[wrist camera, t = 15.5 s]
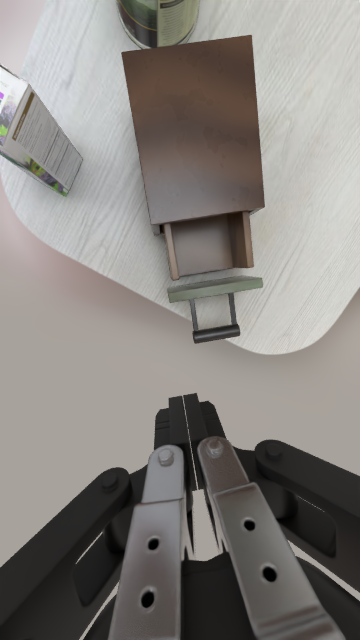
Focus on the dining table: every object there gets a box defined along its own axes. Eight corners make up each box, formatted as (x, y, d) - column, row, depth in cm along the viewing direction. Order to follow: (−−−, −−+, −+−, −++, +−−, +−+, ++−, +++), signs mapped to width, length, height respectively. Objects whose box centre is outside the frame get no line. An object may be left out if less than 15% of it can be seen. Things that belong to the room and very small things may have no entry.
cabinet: (238, 222, 37) (264, 207, 27) (154, 235, 37) (151, 224, 27) (226, 100, 34) (251, 34, 24) (133, 113, 33) (121, 51, 24)
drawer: (247, 326, 40) (267, 340, 32) (175, 338, 39) (178, 356, 31) (232, 180, 35) (252, 155, 27) (151, 192, 35) (147, 171, 27)
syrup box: (27, 175, 34) (-70, 108, 20) (45, 133, 33) (-43, 32, 19) (66, 198, 35) (0, 150, 21) (85, 157, 34) (29, 79, 20)
